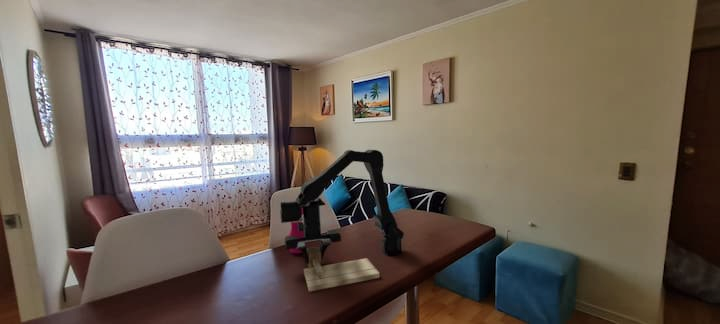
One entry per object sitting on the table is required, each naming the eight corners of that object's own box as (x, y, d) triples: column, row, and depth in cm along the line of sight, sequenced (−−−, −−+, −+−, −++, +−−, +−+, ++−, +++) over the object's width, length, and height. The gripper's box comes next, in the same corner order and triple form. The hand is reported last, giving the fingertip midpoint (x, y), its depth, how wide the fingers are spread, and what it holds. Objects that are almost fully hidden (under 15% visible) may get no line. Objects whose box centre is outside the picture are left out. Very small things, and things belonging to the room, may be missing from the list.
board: (367, 262, 101) (366, 258, 101) (379, 277, 89) (379, 272, 89) (304, 273, 94) (303, 268, 94) (308, 291, 83) (308, 286, 83)
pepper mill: (302, 254, 110) (300, 203, 108) (285, 253, 111) (282, 203, 110) (309, 247, 117) (307, 199, 115) (293, 246, 118) (290, 199, 117)
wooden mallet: (318, 261, 103) (318, 246, 102) (327, 282, 87) (326, 264, 87) (307, 263, 101) (306, 248, 101) (314, 284, 86) (313, 267, 86)
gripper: (333, 210, 108) (335, 250, 110) (282, 216, 103) (285, 258, 104) (340, 217, 98) (342, 261, 99) (284, 224, 92) (287, 271, 93)
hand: (314, 262), depth 99 cm, fingers closed on wooden mallet, 4 cm apart
